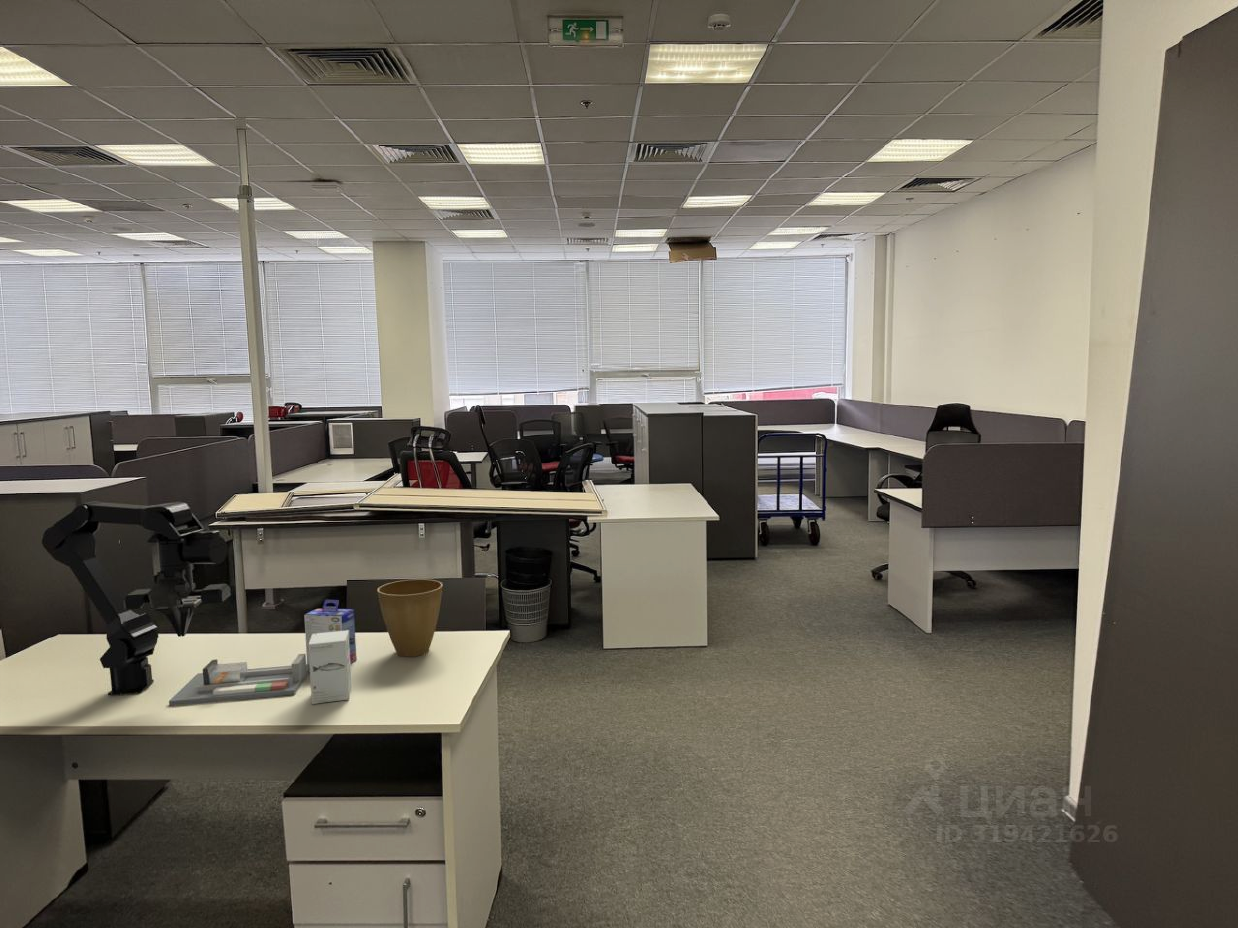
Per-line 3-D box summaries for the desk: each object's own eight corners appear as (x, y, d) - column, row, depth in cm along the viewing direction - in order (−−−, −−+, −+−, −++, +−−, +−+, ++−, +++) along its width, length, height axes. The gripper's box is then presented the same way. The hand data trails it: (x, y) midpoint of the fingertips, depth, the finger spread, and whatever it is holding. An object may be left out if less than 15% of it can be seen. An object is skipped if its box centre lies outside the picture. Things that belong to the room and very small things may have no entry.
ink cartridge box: (358, 659, 174) (354, 598, 172) (345, 668, 169) (341, 605, 167) (320, 657, 176) (316, 597, 174) (306, 666, 171) (301, 604, 169)
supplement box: (311, 705, 149) (306, 644, 147) (315, 691, 156) (311, 632, 155) (350, 700, 151) (346, 639, 149) (352, 686, 158) (349, 628, 157)
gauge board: (169, 705, 150) (167, 681, 150) (198, 677, 165) (196, 655, 165) (294, 694, 154) (292, 671, 154) (311, 667, 169) (310, 646, 169)
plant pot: (417, 666, 168) (413, 597, 167) (367, 657, 175) (363, 591, 173) (458, 645, 182) (455, 581, 180) (411, 637, 188) (407, 576, 186)
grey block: (196, 695, 152) (195, 676, 152) (213, 677, 161) (212, 659, 161) (233, 691, 153) (232, 673, 153) (248, 674, 162) (246, 656, 162)
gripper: (106, 575, 146) (114, 653, 147) (209, 569, 149) (215, 645, 150) (133, 563, 157) (140, 634, 158) (228, 557, 160) (234, 627, 161)
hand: (182, 635), depth 157 cm, fingers closed
